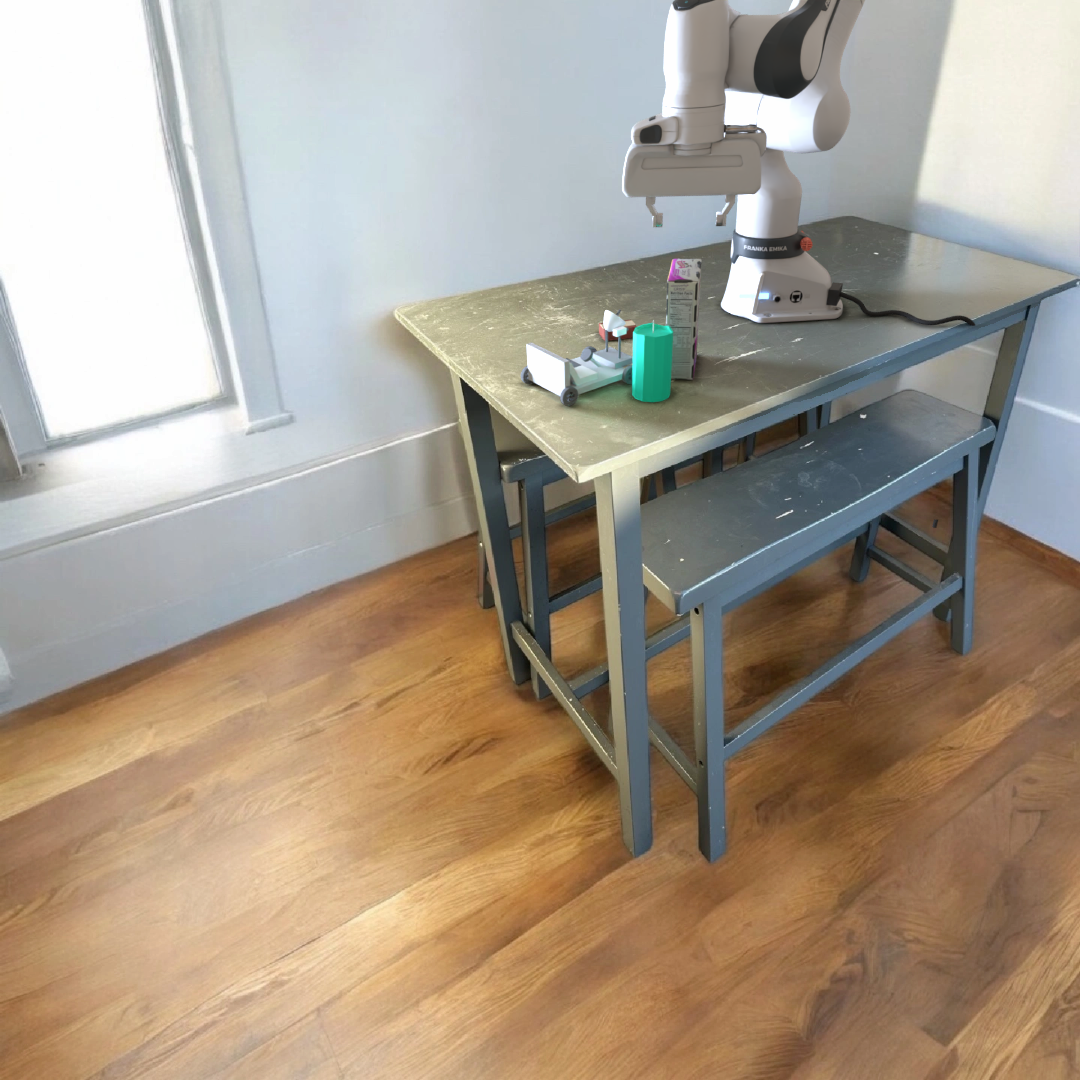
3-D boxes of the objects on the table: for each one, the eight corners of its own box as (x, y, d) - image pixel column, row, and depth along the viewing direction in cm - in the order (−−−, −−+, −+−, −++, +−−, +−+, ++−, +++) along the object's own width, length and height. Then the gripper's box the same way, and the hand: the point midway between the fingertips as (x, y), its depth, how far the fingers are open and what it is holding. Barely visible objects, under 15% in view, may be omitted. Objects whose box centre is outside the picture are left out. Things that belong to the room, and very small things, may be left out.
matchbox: (630, 329, 157) (630, 318, 156) (636, 337, 154) (637, 326, 153) (598, 333, 156) (598, 322, 155) (604, 341, 153) (604, 330, 152)
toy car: (606, 300, 141) (653, 318, 133) (606, 356, 147) (651, 377, 139) (517, 326, 133) (561, 347, 125) (520, 385, 139) (563, 408, 131)
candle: (660, 405, 130) (663, 329, 123) (625, 397, 133) (626, 323, 126) (676, 390, 134) (680, 316, 127) (642, 383, 137) (644, 310, 130)
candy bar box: (667, 353, 147) (671, 257, 138) (697, 354, 146) (703, 257, 137) (662, 380, 138) (666, 279, 129) (693, 381, 137) (699, 279, 128)
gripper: (766, 119, 122) (758, 219, 130) (623, 124, 125) (623, 221, 133) (769, 127, 117) (760, 230, 125) (621, 132, 120) (621, 232, 128)
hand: (688, 226), depth 129 cm, fingers open, 8 cm apart
